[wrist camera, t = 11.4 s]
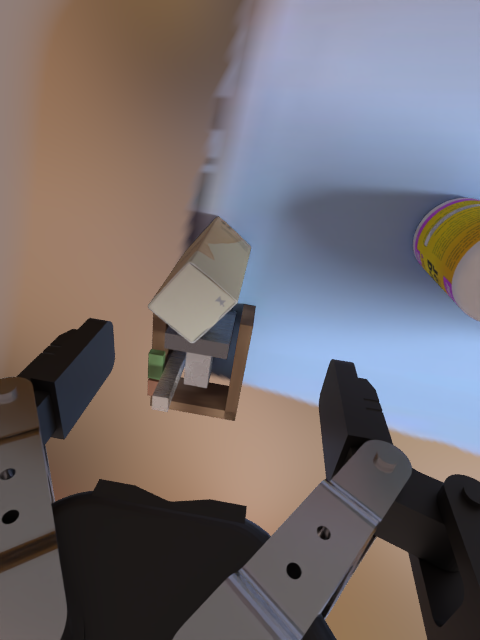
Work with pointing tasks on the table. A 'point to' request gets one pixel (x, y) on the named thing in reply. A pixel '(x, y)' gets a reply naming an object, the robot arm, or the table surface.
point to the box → (203, 282)
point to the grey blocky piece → (192, 359)
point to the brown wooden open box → (215, 396)
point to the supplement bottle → (453, 251)
